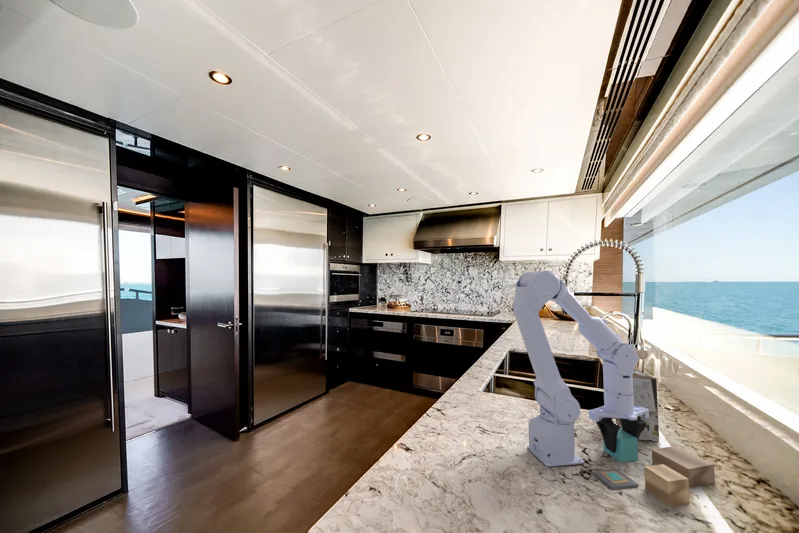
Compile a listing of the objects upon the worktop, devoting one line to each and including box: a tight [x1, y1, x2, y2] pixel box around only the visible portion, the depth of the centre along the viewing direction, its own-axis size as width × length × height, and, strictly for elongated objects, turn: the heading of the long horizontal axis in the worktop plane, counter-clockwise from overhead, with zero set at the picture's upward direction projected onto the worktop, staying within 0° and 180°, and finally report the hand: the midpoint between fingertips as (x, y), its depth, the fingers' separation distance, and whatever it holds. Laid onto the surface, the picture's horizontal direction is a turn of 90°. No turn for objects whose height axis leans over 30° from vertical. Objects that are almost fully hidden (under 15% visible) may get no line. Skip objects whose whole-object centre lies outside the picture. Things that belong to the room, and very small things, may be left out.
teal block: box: [603, 428, 639, 463], centre depth 70 cm, size 5×5×5 cm
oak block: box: [643, 464, 691, 507], centre depth 57 cm, size 4×4×4 cm
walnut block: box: [651, 445, 716, 489], centre depth 63 cm, size 7×7×4 cm
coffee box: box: [615, 368, 660, 442], centre depth 81 cm, size 9×6×16 cm
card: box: [591, 468, 639, 491], centre depth 61 cm, size 6×5×1 cm
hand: (620, 449), depth 70 cm, fingers closed on teal block, 5 cm apart
